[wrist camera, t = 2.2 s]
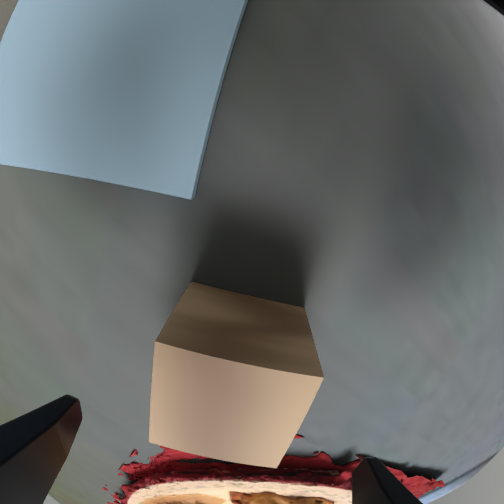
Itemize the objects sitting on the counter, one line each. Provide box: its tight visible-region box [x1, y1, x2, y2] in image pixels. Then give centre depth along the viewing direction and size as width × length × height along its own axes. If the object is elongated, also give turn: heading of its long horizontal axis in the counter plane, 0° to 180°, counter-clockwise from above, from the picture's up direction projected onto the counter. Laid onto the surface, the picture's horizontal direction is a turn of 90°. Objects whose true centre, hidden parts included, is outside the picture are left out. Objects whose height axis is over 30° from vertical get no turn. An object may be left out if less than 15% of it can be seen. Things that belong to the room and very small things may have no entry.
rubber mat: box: [0, 0, 248, 200], centre depth 10 cm, size 14×14×1 cm
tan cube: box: [149, 282, 324, 468], centre depth 11 cm, size 5×5×5 cm
